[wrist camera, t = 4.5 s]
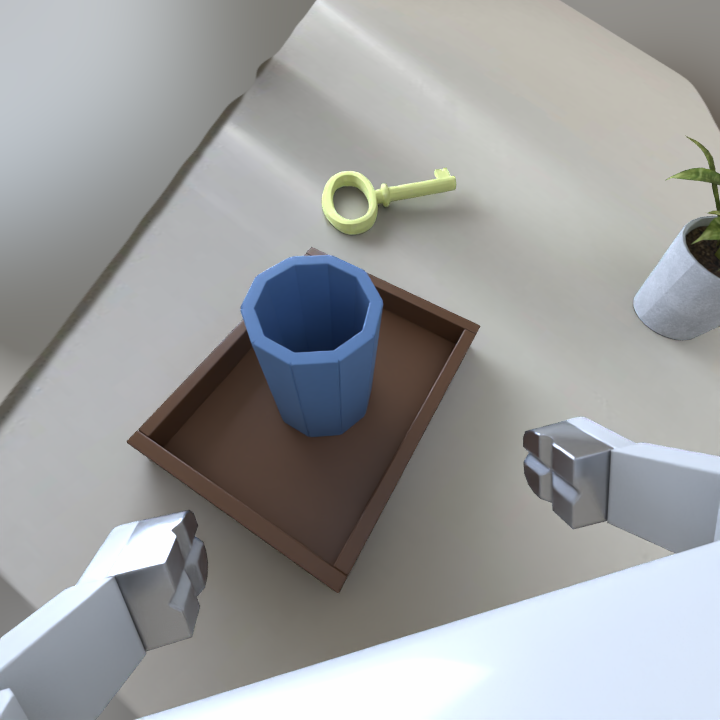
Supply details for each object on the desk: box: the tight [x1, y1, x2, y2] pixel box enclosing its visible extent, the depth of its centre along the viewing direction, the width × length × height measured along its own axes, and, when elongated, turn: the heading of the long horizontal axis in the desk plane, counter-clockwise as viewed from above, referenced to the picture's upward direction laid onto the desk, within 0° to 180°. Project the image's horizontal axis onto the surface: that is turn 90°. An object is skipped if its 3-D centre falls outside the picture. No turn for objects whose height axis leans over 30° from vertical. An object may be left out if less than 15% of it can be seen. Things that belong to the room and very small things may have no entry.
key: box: [322, 168, 456, 235], centre depth 34 cm, size 7×12×2 cm, turn 119°
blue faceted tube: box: [241, 255, 383, 437], centre depth 20 cm, size 6×6×9 cm
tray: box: [127, 247, 480, 593], centre depth 23 cm, size 18×14×2 cm
